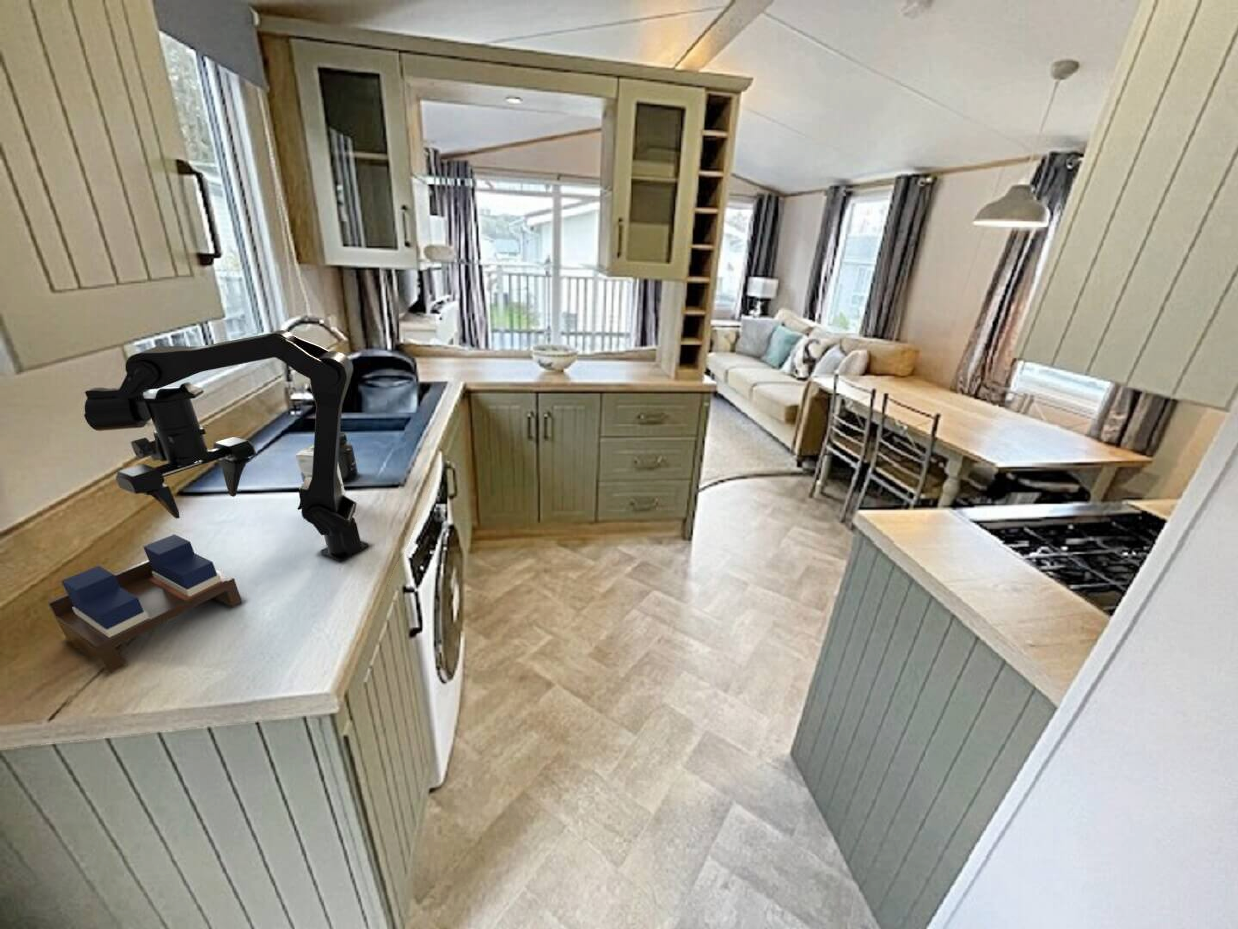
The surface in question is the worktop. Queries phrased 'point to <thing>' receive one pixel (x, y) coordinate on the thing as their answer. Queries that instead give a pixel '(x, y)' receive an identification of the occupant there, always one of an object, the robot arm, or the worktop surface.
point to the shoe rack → (153, 599)
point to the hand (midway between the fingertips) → (206, 506)
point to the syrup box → (311, 465)
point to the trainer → (180, 565)
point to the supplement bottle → (346, 460)
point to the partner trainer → (103, 601)
